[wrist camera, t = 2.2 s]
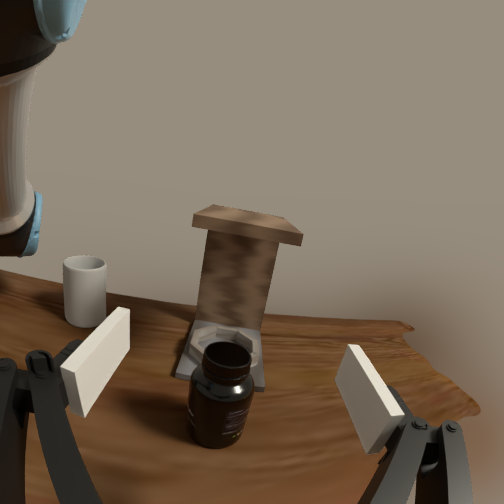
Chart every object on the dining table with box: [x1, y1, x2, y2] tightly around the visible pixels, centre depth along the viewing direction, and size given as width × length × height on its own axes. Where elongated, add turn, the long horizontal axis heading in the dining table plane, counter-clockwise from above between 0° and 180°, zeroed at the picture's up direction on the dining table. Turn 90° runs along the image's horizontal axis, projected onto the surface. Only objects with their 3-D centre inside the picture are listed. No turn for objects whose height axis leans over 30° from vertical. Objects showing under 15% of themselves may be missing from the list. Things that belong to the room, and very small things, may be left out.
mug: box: [63, 255, 106, 328], centre depth 47 cm, size 12×8×11 cm
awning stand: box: [175, 205, 303, 392], centre depth 45 cm, size 13×20×24 cm, turn 1°
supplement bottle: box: [186, 341, 255, 448], centre depth 28 cm, size 7×7×12 cm
